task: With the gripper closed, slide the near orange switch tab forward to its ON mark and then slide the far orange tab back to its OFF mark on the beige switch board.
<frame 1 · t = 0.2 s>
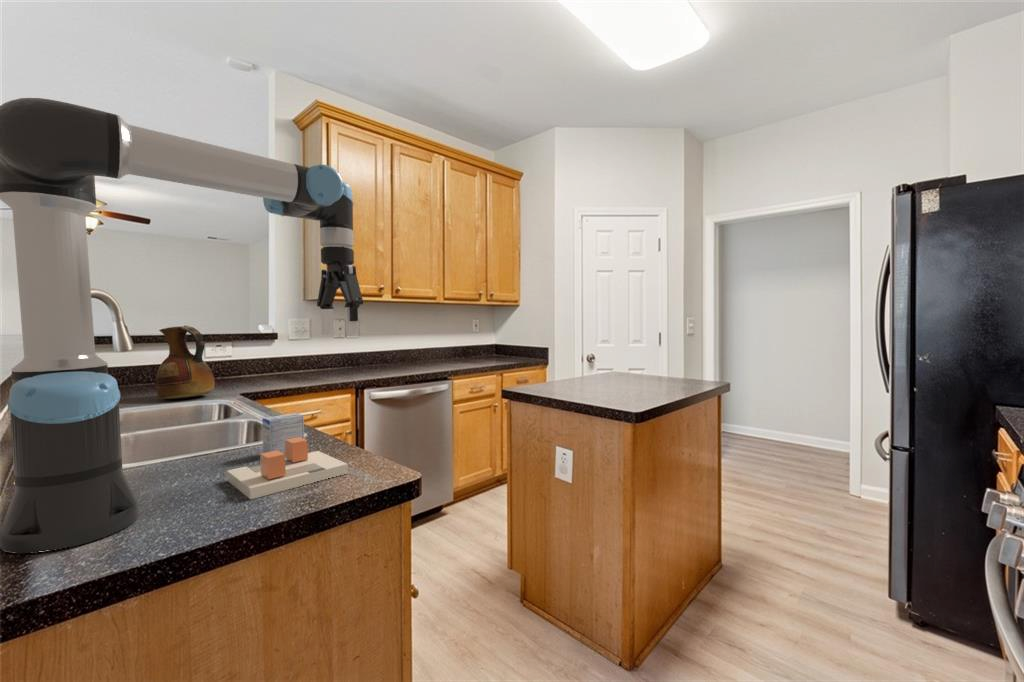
hand: (339, 335, 112), 28 cm above the counter, tool pointing down, fingers open, 13 cm apart
far tab: (296, 449, 96), point 4 cm above the counter, slide at 7.0 cm
near tab: (272, 464, 86), point 4 cm above the counter, slide at 0.0 cm
ceramic pitcher: (186, 398, 188), on the counter
medicine box: (284, 453, 109), on the counter
switch bank: (288, 477, 91), on the counter
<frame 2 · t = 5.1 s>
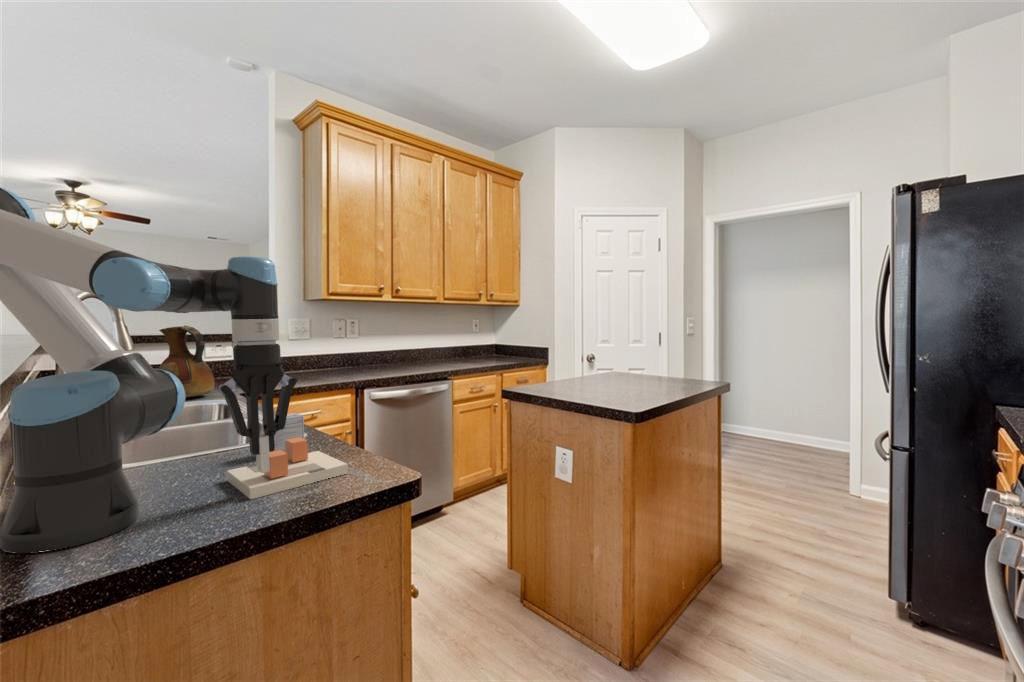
hand: (263, 470, 84), 4 cm above the counter, tool pointing down, fingers closed
near tab: (275, 463, 86), point 4 cm above the counter, slide at 0.5 cm, touching gripper
everything else where it was.
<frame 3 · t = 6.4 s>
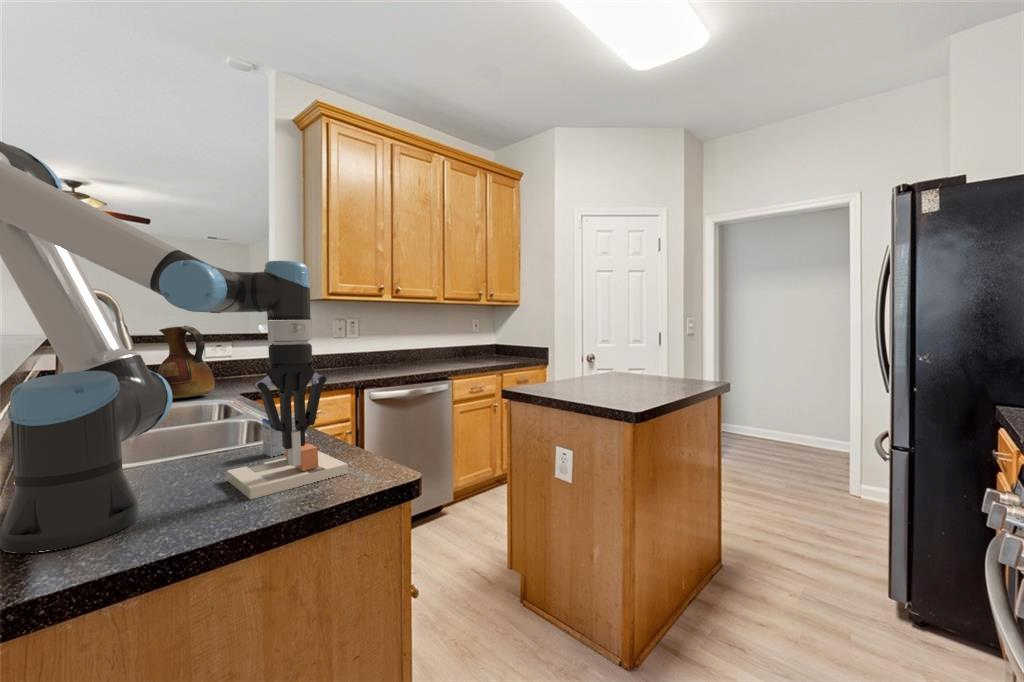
hand: (294, 463, 89), 3 cm above the counter, tool pointing down, fingers closed
near tab: (306, 457, 90), point 4 cm above the counter, slide at 6.2 cm, touching gripper
everything else where it was.
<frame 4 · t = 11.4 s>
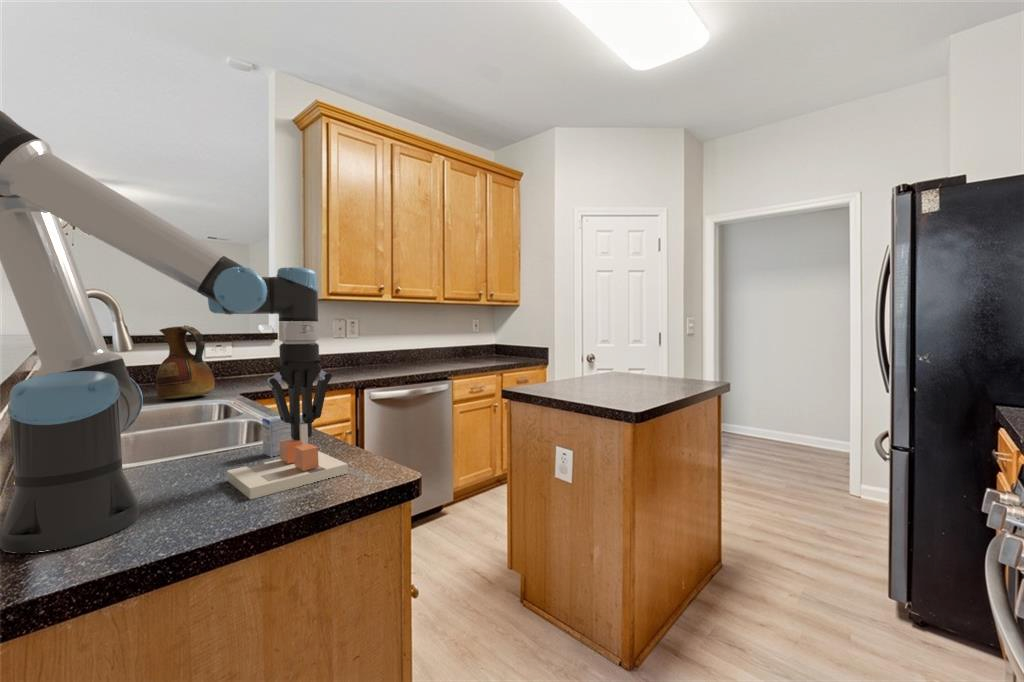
hand: (302, 453, 97), 3 cm above the counter, tool pointing down, fingers closed
far tab: (291, 450, 95), point 4 cm above the counter, slide at 5.9 cm, touching gripper
near tab: (306, 456, 90), point 4 cm above the counter, slide at 6.2 cm
everything else where it was.
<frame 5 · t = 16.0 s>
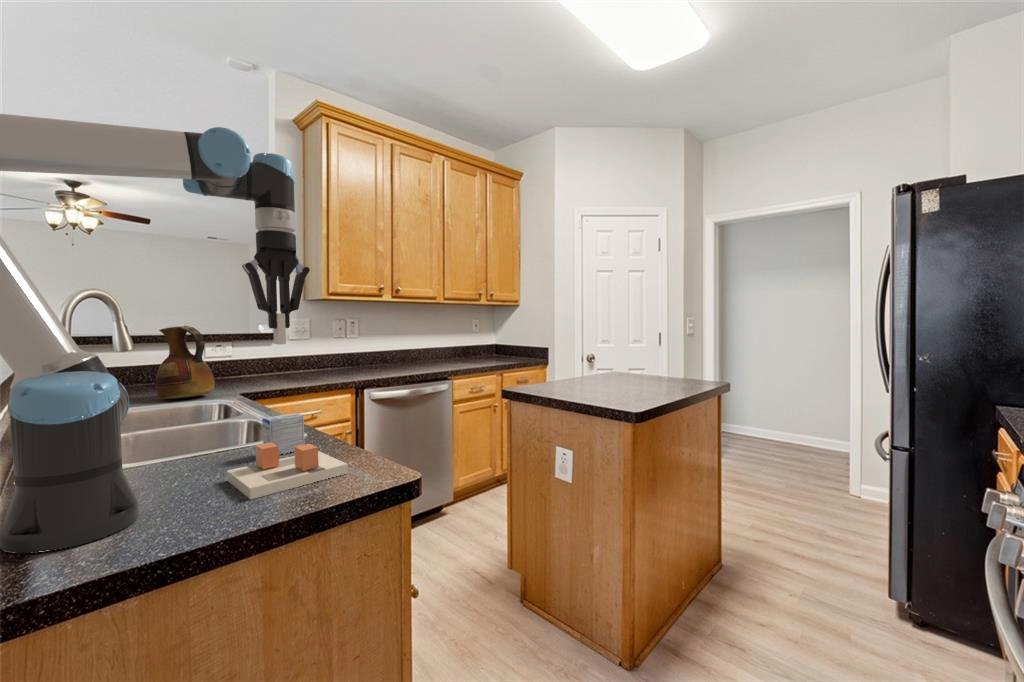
hand: (279, 343, 97), 26 cm above the counter, tool pointing down, fingers closed
far tab: (267, 455, 92), point 4 cm above the counter, slide at 1.3 cm
everything else where it was.
at the end: near tab slide at 6.2 cm; far tab slide at 1.3 cm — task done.
